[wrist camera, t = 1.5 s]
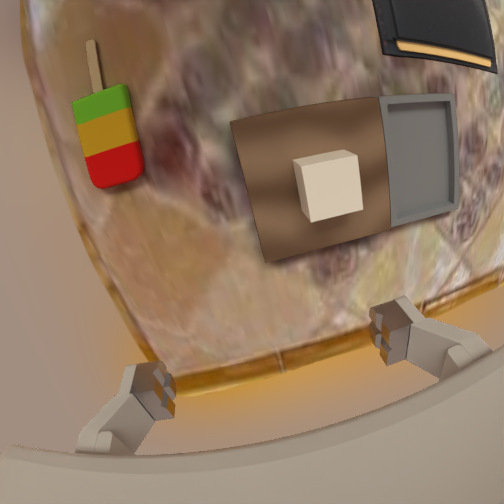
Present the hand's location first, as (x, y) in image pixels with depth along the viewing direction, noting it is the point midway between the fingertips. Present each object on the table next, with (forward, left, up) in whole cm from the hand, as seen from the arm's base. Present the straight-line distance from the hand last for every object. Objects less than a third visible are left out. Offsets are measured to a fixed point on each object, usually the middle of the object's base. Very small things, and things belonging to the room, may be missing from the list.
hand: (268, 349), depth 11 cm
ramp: (0, +8, -21) cm, 22 cm away
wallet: (-18, +28, -21) cm, 40 cm away
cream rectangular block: (0, +8, -19) cm, 20 cm away
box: (0, +21, -21) cm, 29 cm away
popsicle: (-12, -10, -21) cm, 26 cm away
